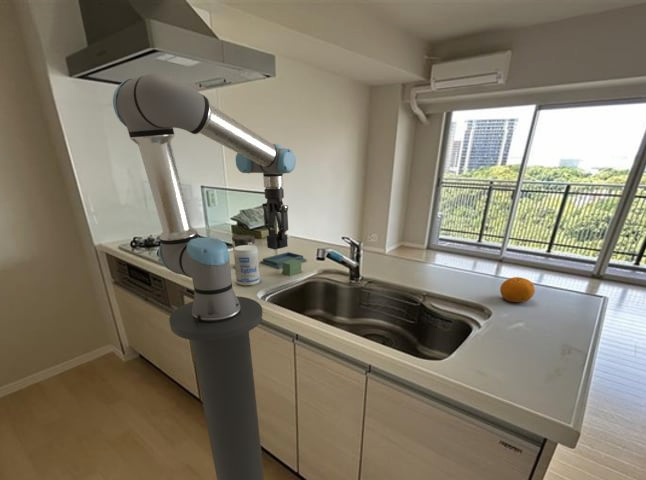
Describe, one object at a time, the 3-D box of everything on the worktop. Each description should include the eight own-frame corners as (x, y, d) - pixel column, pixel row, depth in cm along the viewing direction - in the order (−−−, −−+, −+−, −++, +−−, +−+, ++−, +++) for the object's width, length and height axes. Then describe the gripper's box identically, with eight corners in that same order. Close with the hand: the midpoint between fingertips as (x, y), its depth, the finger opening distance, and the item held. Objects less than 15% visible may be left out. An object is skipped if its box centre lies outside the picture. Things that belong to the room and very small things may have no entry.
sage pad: (290, 275, 148) (289, 264, 146) (282, 273, 151) (282, 262, 149) (301, 271, 153) (301, 261, 150) (294, 269, 156) (293, 259, 154)
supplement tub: (242, 288, 134) (238, 251, 128) (233, 281, 141) (229, 247, 135) (264, 283, 139) (261, 248, 133) (254, 277, 146) (251, 243, 140)
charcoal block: (275, 249, 139) (274, 237, 137) (267, 247, 142) (266, 235, 140) (287, 246, 143) (287, 234, 141) (280, 244, 146) (279, 233, 144)
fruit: (491, 297, 123) (496, 276, 119) (513, 293, 126) (518, 272, 122) (515, 307, 114) (521, 285, 110) (538, 303, 117) (545, 281, 113)
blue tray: (279, 268, 157) (278, 263, 156) (260, 263, 166) (260, 258, 165) (306, 260, 169) (306, 256, 167) (287, 256, 177) (287, 251, 176)
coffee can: (261, 266, 162) (258, 236, 156) (243, 270, 155) (240, 240, 149) (247, 262, 168) (245, 233, 162) (230, 266, 161) (227, 237, 155)
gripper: (296, 188, 129) (298, 248, 139) (267, 186, 140) (270, 241, 151) (281, 189, 124) (284, 251, 134) (252, 187, 136) (257, 244, 146)
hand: (277, 246), depth 142 cm, fingers closed on charcoal block, 5 cm apart
